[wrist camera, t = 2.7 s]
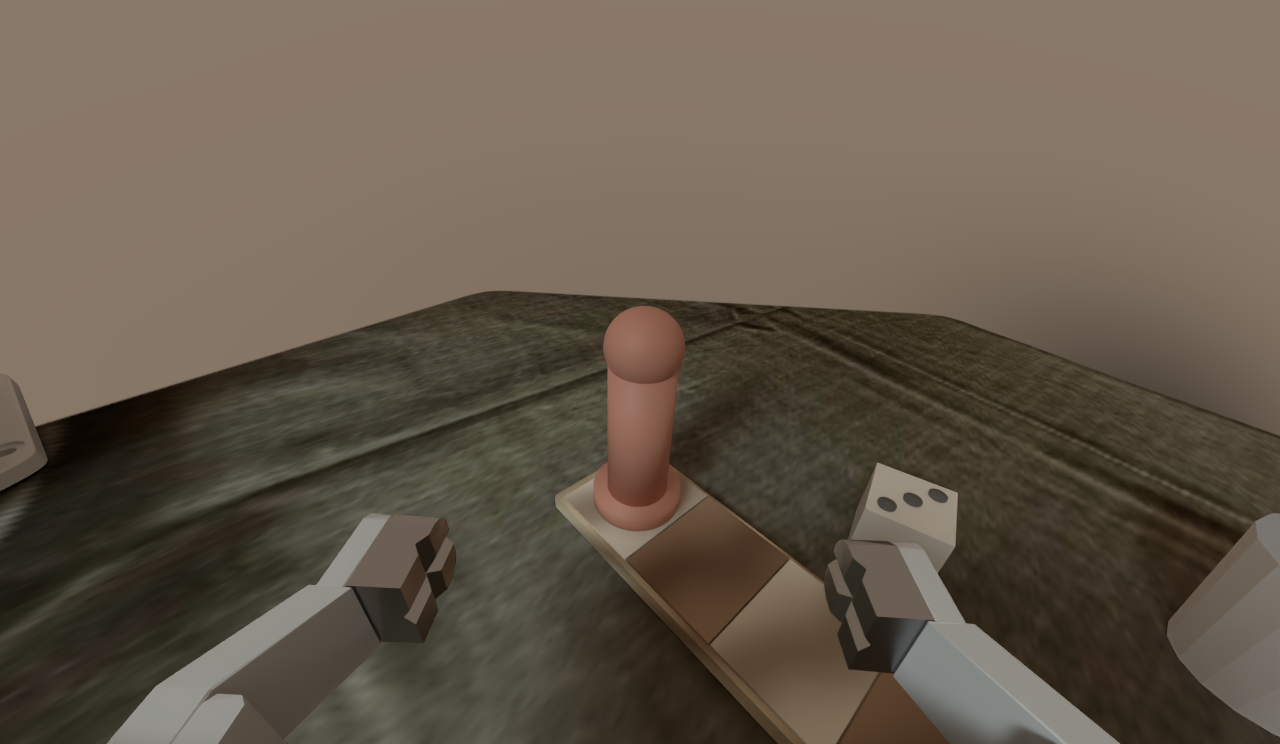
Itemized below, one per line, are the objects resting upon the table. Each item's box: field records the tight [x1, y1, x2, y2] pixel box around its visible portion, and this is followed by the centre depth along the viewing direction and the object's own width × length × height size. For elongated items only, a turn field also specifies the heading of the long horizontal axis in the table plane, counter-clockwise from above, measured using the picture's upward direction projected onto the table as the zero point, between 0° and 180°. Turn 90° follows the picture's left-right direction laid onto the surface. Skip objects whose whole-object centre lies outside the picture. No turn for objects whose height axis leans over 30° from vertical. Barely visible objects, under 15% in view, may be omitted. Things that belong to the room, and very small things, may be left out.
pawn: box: [593, 306, 685, 531], centre depth 23 cm, size 5×5×12 cm
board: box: [555, 464, 950, 744], centre depth 22 cm, size 23×7×1 cm, turn 42°
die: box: [848, 463, 958, 573], centre depth 25 cm, size 4×4×4 cm
